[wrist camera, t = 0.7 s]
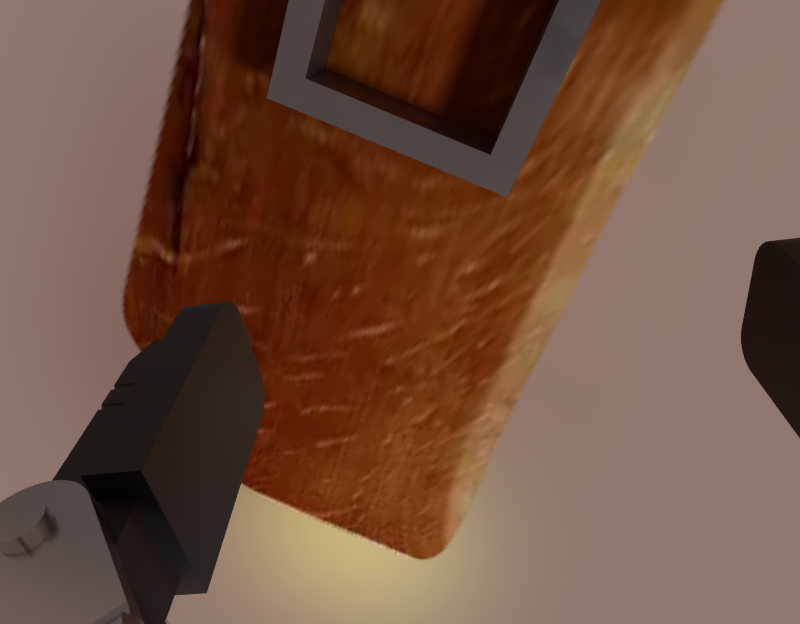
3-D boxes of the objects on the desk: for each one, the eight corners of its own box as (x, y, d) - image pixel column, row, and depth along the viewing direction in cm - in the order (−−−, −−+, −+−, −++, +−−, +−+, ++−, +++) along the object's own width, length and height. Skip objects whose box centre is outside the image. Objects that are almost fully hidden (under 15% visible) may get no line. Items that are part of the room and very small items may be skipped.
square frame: (288, 87, 31) (266, 98, 28) (359, -207, 24) (339, -227, 22) (509, 177, 31) (507, 197, 28) (634, -90, 25) (647, -97, 22)
